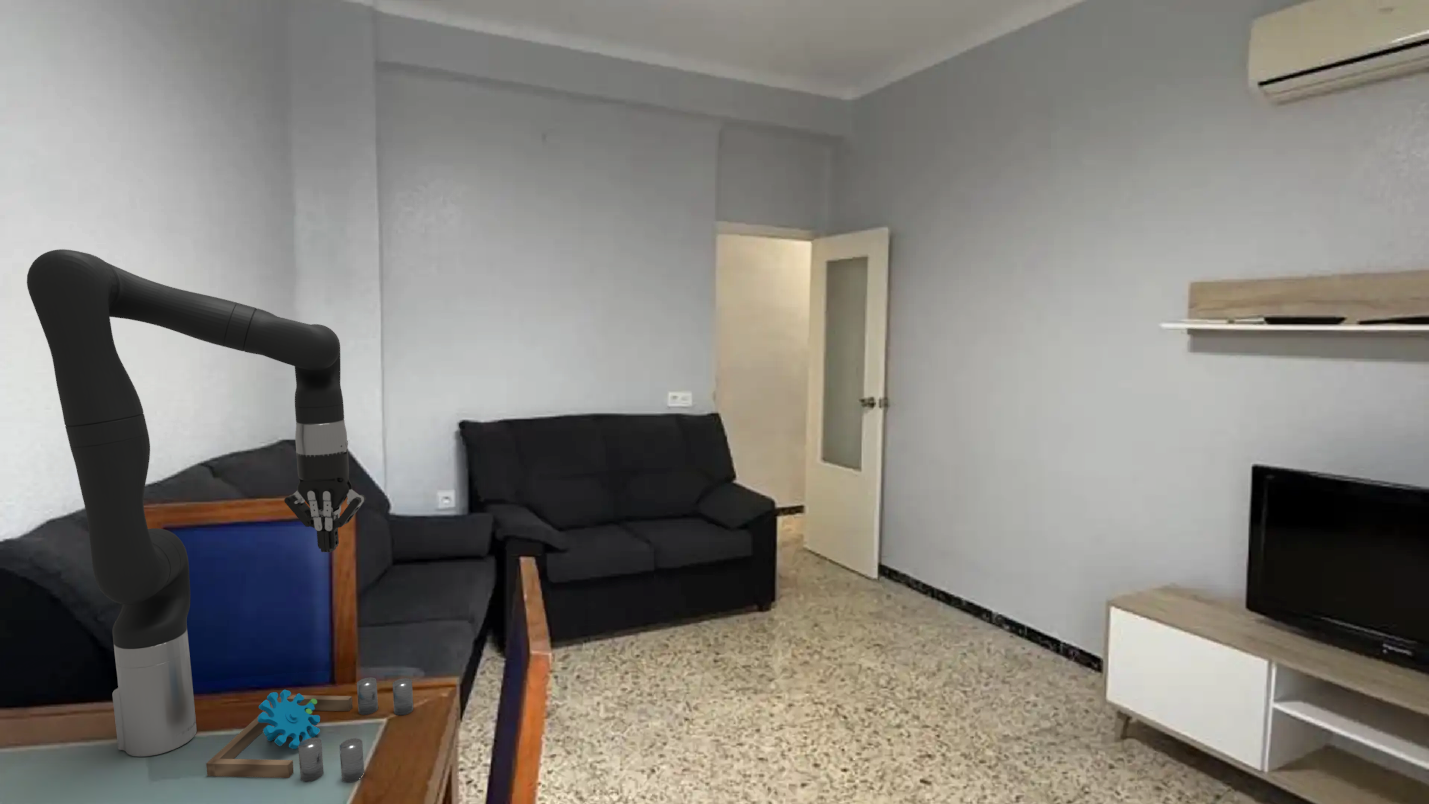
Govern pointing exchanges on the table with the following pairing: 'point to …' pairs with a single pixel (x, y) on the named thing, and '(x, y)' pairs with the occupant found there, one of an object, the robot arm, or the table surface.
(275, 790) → the table surface
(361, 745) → the spacers
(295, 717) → the gear
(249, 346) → the robot arm
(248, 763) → the frame
